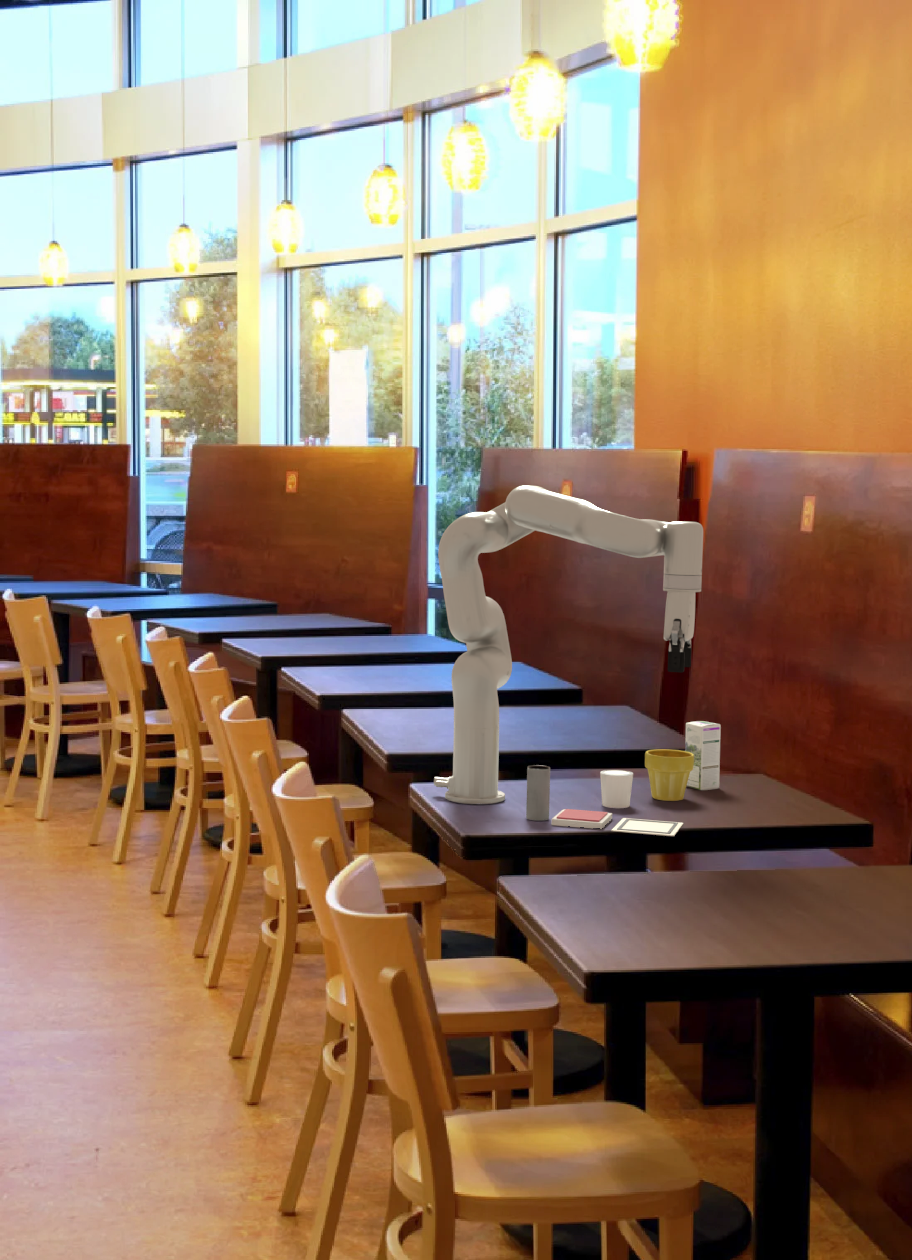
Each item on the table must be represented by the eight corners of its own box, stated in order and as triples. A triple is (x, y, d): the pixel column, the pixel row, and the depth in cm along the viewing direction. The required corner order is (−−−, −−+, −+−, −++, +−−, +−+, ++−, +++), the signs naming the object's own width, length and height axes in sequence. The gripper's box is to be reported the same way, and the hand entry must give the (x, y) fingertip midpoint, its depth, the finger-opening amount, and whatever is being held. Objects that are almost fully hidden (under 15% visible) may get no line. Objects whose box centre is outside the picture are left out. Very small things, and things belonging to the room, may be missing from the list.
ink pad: (551, 825, 297) (551, 817, 297) (563, 815, 307) (563, 807, 307) (602, 829, 294) (602, 821, 294) (612, 819, 304) (612, 811, 304)
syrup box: (720, 788, 339) (722, 723, 337) (699, 791, 336) (702, 725, 334) (703, 784, 343) (705, 720, 342) (682, 786, 340) (684, 721, 339)
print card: (611, 831, 293) (611, 829, 293) (623, 819, 304) (623, 817, 304) (673, 836, 289) (673, 834, 289) (683, 823, 301) (683, 822, 301)
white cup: (633, 809, 314) (634, 775, 314) (600, 808, 314) (601, 774, 314) (630, 802, 321) (631, 769, 321) (598, 801, 321) (598, 768, 321)
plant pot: (702, 798, 327) (703, 753, 326) (675, 805, 319) (676, 758, 319) (661, 791, 334) (662, 747, 333) (634, 798, 326) (635, 752, 325)
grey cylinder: (532, 821, 300) (533, 769, 299) (522, 817, 304) (523, 765, 304) (552, 820, 302) (554, 768, 301) (543, 815, 306) (544, 764, 305)
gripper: (669, 581, 313) (667, 664, 315) (656, 585, 297) (653, 673, 298) (706, 582, 311) (703, 666, 313) (695, 586, 294) (692, 675, 296)
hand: (679, 669), depth 305 cm, fingers open, 9 cm apart
